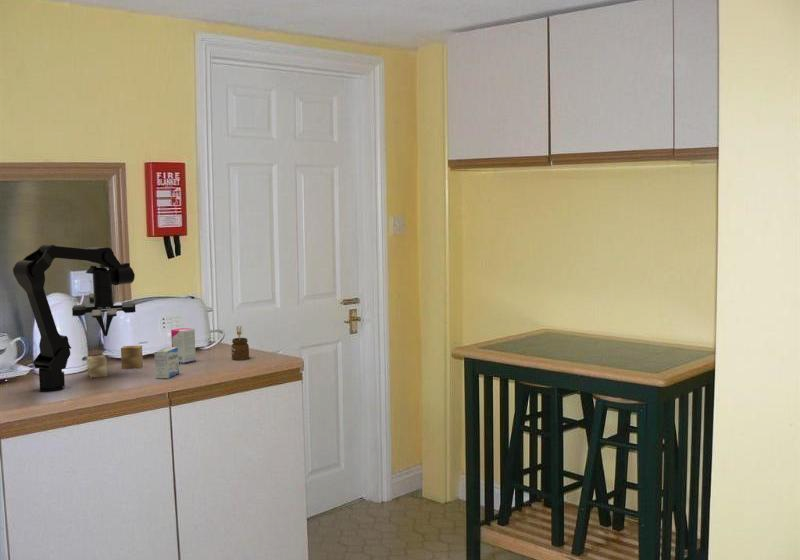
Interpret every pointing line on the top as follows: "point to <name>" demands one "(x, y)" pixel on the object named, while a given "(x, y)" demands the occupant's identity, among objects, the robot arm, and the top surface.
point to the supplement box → (184, 344)
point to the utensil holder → (240, 347)
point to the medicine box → (166, 362)
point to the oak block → (131, 357)
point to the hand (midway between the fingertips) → (105, 336)
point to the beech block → (97, 366)
